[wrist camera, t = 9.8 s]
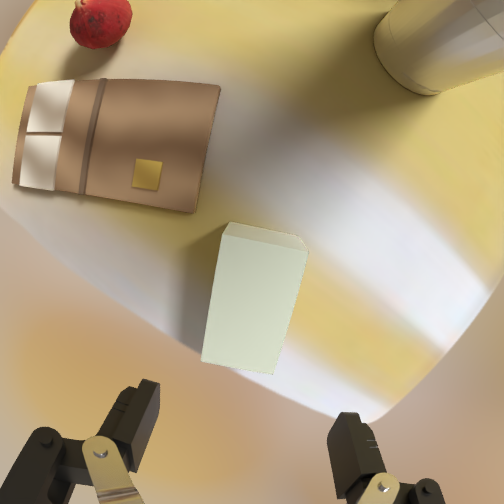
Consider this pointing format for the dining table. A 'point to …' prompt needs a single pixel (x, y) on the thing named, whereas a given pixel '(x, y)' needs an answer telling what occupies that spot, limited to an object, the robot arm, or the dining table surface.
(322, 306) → the dining table surface
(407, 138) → the dining table surface
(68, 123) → the board
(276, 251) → the block
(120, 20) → the onion
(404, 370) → the dining table surface
